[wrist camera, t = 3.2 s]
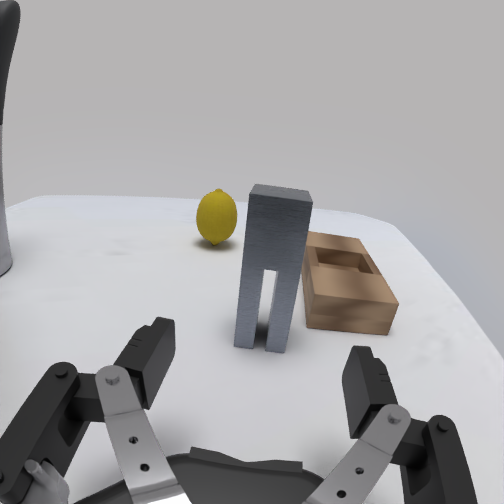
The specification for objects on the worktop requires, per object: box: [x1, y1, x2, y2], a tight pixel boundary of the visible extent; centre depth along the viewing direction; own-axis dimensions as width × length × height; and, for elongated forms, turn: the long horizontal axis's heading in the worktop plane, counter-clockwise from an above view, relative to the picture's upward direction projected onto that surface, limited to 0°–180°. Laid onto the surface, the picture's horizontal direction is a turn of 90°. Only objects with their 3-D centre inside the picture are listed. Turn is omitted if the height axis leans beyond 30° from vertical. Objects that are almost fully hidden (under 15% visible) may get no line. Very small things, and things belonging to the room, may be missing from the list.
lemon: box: [196, 189, 237, 245], centre depth 42 cm, size 6×6×8 cm
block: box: [234, 184, 313, 353], centre depth 23 cm, size 4×4×12 cm
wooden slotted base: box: [301, 231, 399, 335], centre depth 35 cm, size 8×18×4 cm, turn 174°
